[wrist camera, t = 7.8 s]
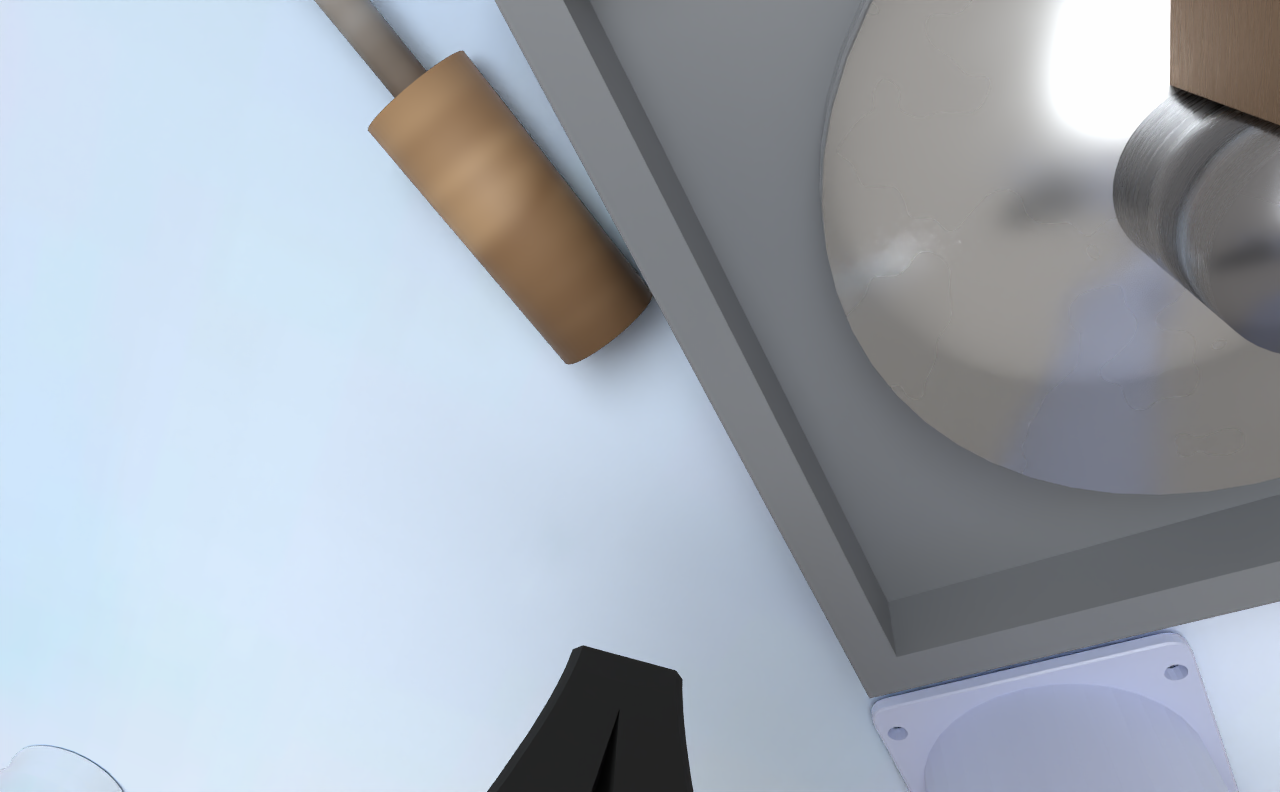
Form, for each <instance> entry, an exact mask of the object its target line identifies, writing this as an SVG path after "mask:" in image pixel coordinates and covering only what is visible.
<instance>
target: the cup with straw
mask: <svg viewBox="0 0 1280 792" xmlns="http://www.w3.org/2000/svg"><path fill="white" fill-rule="evenodd" d="M0 792H122V790H121V788H120V787H119V786H118V784H117V783H116V782H115V781H114V780H113V779H112V778H111V777H110V776H109V775H108V774H107V773H106V772H105V771H104V770H102V769H101V768H100V767H98V766H97V765H96V764H94V763H92V762H91V761H89V760H87V759H86V758H84V757H81V756H79V755H77V754H75V753H73V752H70V751H67V750H64V749H60V748H56V747H51V746H30V747H27V748H23V749H22V750H20V751H19V752H17V753H16V754H15V756H14V757H13V758H12V760H11V762H10V764H9V766H7V767H6V768H4V769H3V770H1V771H0Z"/></svg>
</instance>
